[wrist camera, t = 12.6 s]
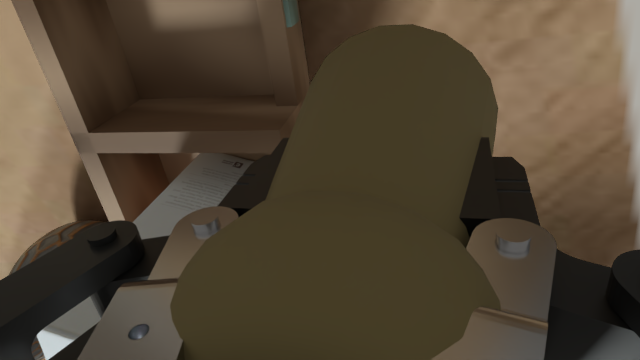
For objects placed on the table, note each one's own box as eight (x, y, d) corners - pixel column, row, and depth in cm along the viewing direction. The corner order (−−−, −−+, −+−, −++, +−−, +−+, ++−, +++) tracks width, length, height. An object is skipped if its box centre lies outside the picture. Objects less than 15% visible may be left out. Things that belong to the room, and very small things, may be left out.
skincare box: (202, 145, 24) (26, 320, 14) (279, 164, 23) (152, 361, 14) (203, 233, 27) (62, 424, 17) (271, 251, 27) (164, 460, 17)
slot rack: (340, 273, 27) (321, 335, 23) (189, 262, 30) (150, 315, 26) (274, -196, 16) (219, -223, 12) (45, -144, 19) (-57, -154, 15)
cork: (543, 123, 13) (732, 580, 4) (397, 230, 17) (329, 625, 7) (395, -24, 12) (232, 162, 3) (271, 120, 16) (12, 418, 6)
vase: (135, 201, 28) (26, 306, 21) (175, 284, 32) (92, 400, 24) (50, 205, 30) (-76, 301, 23) (95, 282, 34) (-2, 388, 27)
